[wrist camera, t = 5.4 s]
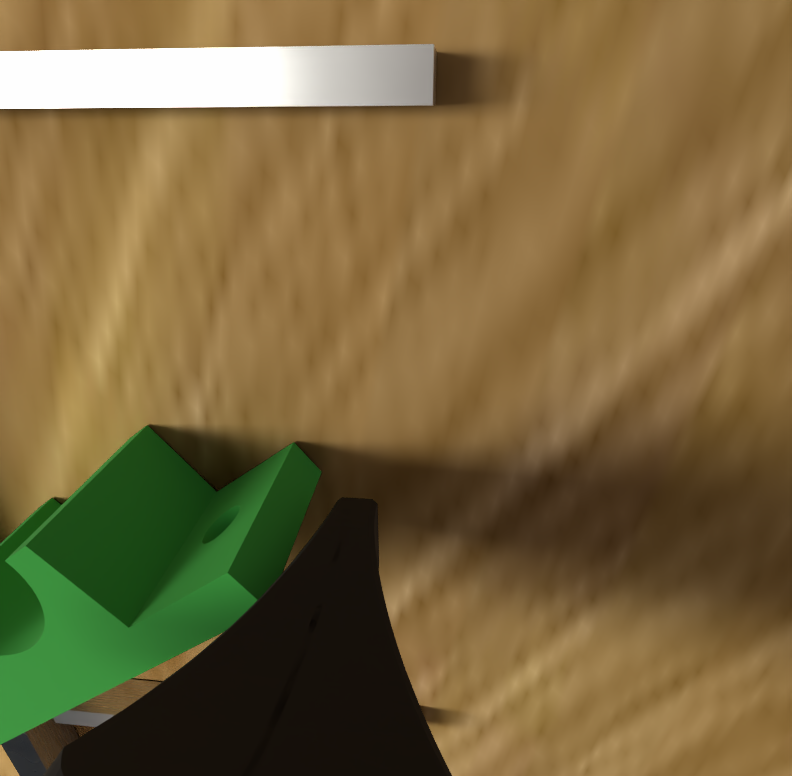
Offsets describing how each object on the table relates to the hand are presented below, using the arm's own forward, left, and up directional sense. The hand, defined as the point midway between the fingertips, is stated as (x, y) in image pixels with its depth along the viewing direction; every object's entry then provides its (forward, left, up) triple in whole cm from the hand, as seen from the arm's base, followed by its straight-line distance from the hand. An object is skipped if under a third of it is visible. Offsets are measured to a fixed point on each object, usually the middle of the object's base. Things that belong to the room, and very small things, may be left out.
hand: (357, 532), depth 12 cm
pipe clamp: (+6, +1, -2) cm, 7 cm away
